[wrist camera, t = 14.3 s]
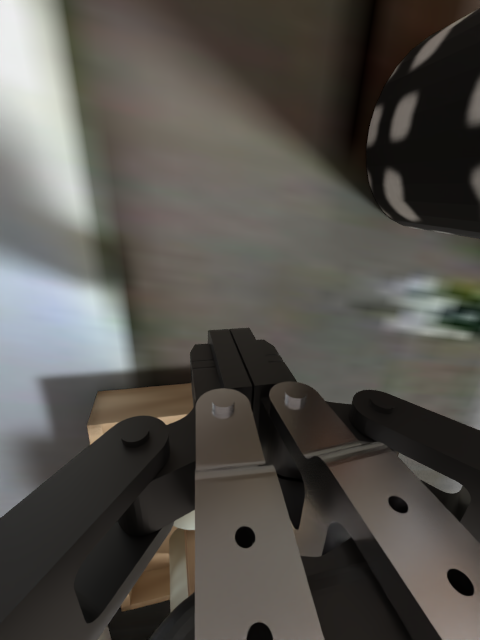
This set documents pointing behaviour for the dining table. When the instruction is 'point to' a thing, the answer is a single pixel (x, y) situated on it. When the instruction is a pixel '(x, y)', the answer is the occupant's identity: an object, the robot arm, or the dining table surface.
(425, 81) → the white-spotted black cylinder
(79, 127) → the dining table surface
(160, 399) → the tray
